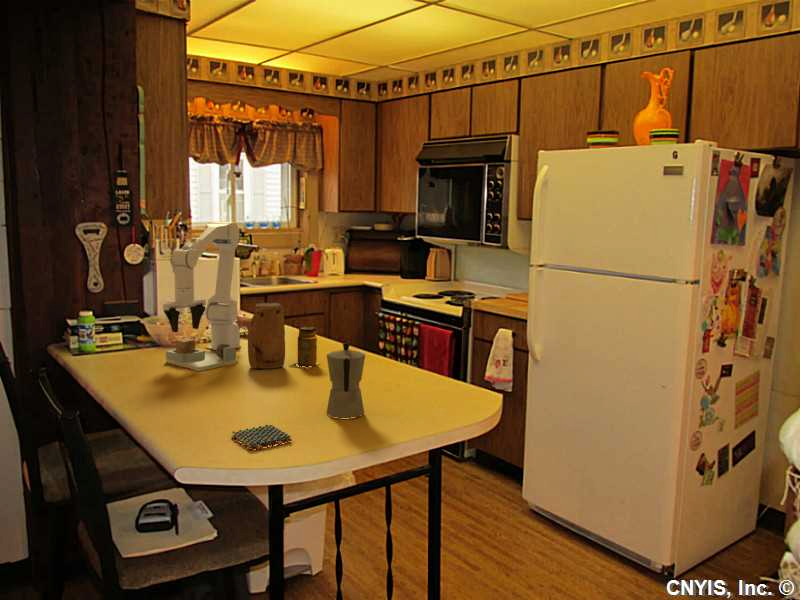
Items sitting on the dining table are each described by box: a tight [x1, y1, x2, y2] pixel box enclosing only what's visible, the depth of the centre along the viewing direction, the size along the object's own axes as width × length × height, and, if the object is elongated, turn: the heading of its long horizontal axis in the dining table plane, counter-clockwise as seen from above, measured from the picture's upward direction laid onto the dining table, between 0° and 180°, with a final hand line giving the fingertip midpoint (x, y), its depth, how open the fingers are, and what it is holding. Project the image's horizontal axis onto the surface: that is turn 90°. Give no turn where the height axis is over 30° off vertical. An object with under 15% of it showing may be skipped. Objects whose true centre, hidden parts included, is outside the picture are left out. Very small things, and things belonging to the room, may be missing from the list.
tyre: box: [215, 344, 231, 358], centre depth 218 cm, size 4×2×4 cm, turn 143°
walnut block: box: [175, 337, 196, 354], centre depth 217 cm, size 4×4×6 cm
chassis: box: [165, 346, 239, 372], centre depth 217 cm, size 15×17×5 cm
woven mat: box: [231, 424, 293, 450], centre depth 149 cm, size 10×11×2 cm
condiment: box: [288, 326, 318, 370], centre depth 217 cm, size 7×8×12 cm
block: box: [247, 302, 286, 370], centre depth 212 cm, size 11×8×20 cm
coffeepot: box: [326, 342, 366, 418], centre depth 166 cm, size 15×9×18 cm, turn 6°
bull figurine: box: [236, 311, 252, 338], centre depth 263 cm, size 4×13×8 cm, turn 40°
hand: (185, 330), depth 216 cm, fingers open, 7 cm apart
